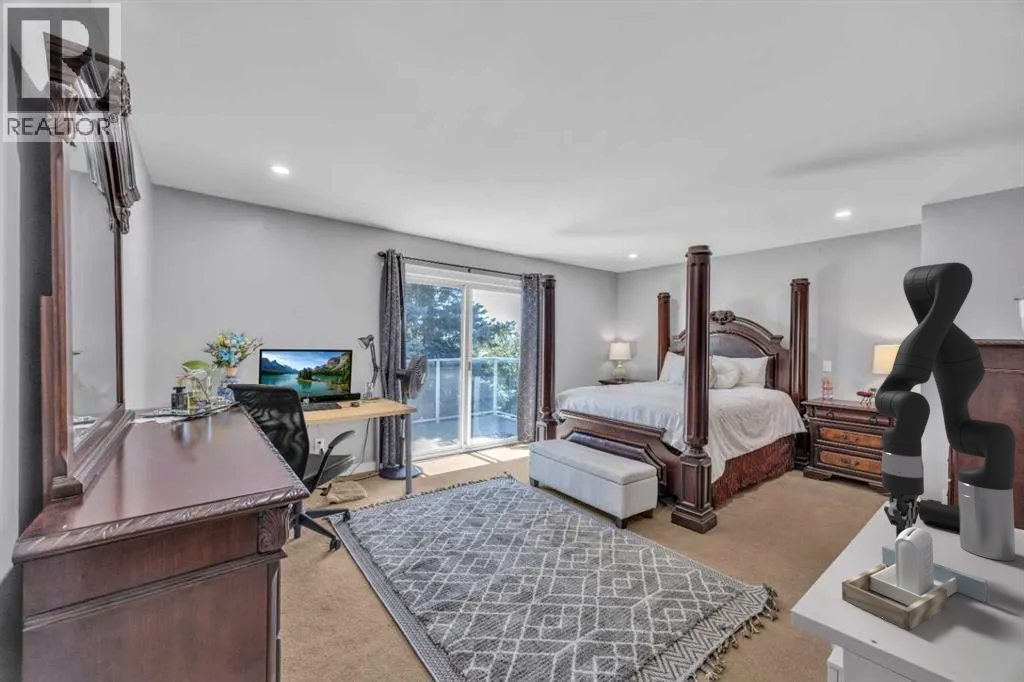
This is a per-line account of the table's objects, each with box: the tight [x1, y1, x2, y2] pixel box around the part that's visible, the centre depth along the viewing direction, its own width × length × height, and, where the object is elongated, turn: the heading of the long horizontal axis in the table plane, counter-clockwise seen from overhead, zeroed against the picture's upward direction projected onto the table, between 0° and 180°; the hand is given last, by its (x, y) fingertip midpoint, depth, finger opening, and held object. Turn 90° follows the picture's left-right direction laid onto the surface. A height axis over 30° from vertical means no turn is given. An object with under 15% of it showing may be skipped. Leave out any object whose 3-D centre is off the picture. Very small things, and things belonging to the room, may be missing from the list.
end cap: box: [918, 498, 960, 532], centre depth 120 cm, size 10×7×7 cm
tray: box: [870, 545, 988, 607], centre depth 91 cm, size 16×17×4 cm
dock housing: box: [841, 563, 948, 631], centre depth 87 cm, size 16×11×4 cm
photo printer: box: [894, 526, 934, 596], centre depth 90 cm, size 10×4×12 cm, turn 121°
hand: (903, 542), depth 102 cm, fingers closed
